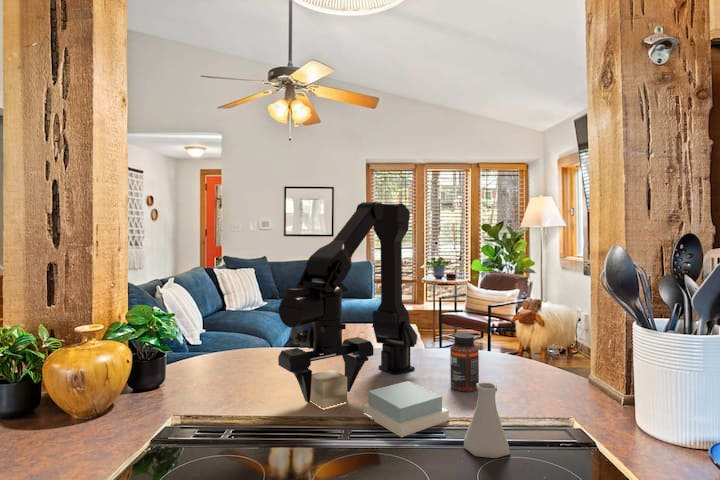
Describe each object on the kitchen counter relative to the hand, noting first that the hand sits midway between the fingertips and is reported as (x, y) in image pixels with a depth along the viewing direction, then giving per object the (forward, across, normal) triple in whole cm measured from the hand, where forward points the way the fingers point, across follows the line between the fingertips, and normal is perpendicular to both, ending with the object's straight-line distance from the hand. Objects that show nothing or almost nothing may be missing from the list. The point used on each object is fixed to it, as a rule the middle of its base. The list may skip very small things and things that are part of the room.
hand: (328, 396), depth 90 cm
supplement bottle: (+2, -28, +10) cm, 30 cm away
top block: (-1, -8, +14) cm, 16 cm away
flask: (+2, -11, +30) cm, 32 cm away
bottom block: (+2, -8, +14) cm, 16 cm away
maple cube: (+1, 0, 0) cm, 1 cm away
